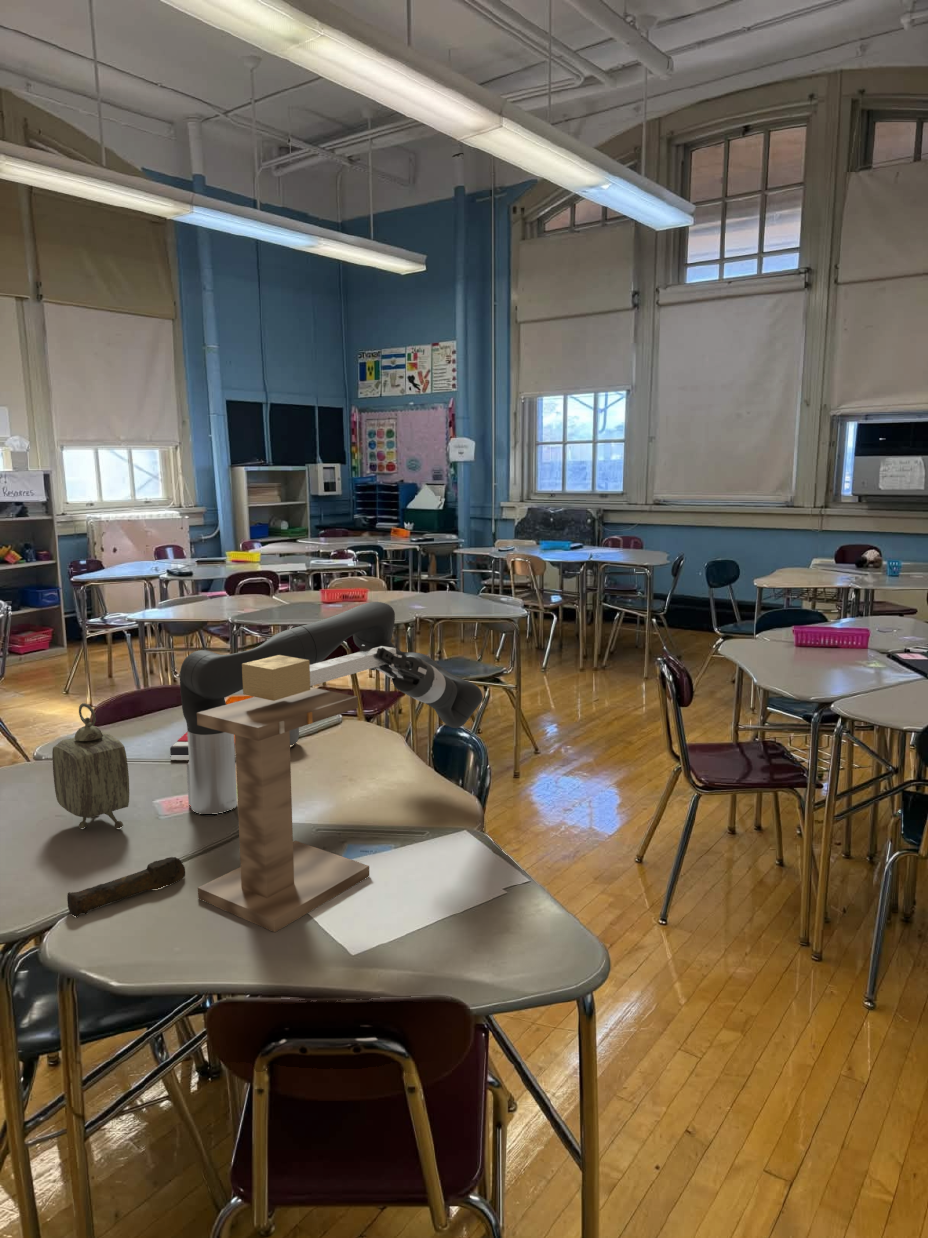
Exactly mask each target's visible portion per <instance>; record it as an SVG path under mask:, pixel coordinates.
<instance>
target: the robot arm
mask: <svg viewBox="0 0 928 1238" xmlns="http://www.w3.org/2000/svg"><path fill="white" fill-rule="evenodd" d="M395 621H396V613H395V609H394V608H393V607H392V606H391V605H390V604H388V603H386V602H381V601H380V602H379V601H371V602H366V603H362V604H359V605H357V606H354V607H352V608H350V609H347V610H346V611H342V612H340V613H338V614H336V615H333V616H330V617H327V618H324V619H320V620H318V621H314V622H310V623H308V624H304V625H299V626H296V627H293V628H290V629H289V628H288V629H286V630H283V631H280V632H277V633H276V634H273V635H272V636H271V637H269V638H268V639H267V640H265V641H264V642H262V643H261V644H260V645H259V646H257V647H254V648H250V649H248V650H244V651H239V652H235V653H228V654H219V653H217V652H213V651H209V650H205V649H202V650H200V649H199V650H195V651H193V652H191V653H189V654H188V655H187V656H186V658H184V660H183V662H182V664H181V667H180V671H179V688H180V699H181V710H182V714H183V717H184V721H185V722H186V730H187V731H186V732H187V733H188V751H189V761H188V763H186V780H187V796H188V797H187V798H188V799H187V801H188V805H189V804H190V805H191V807H190V809H191V811H192V810H194V811H195V812H198V813H201V814H212V813H219V812H224V811H227V810H230V809H232V808H234V809H236V807H238V794H237V771H236V748H235V735H234V734H230V733H226V732H222V731H218V730H214V729H210V728H207V727H203V726H199V725H197V713H198V712H201V711H205V710H209V709H212V708H216V707H220V706H223V705H227V703H226V700H225V698H227V697H229V696H231V695H234V694H236V693H238V692H240V691H243V678H242V664H243V663H247V662H252V661H256V660H260V659H264V658H268V657H273V656H277V655H282V656H288V657H294V658H300V659H306V660H309V662H310V665H311V664H315V663H319V662H323V661H325V660H326V659H327V657H329V655H331V654H332V653H333V652H334V651H335V650H337V648H338V647H340V645H342V644H343V643H344V642H345V641H347V639H349V638H351V637H352V638H353V642H354V645H356V647H358V648H359V651H358V652H361V651H365V650H369V649H372V648H376V647H379V648H378V650H377V654H376V658H377V659H378V660H380V661H382V662H383V663H385V665H381V666H378V667H375V668H371V669H370V670H371V671H376V670H377V671H379V672H382V674H383V673H384V674H385V676H387V677H388V678H391V682H392V685H393V686H394V688H396V690H398V691H399V692H401V693H402V694H405V695H407V696H408V697H410V698H412V699H414V700H416V701H418V702H422V703H424V704H425V705H427V706H429V707H431V708H432V709H433V710H434V711H435V712H436V714H437V716H438V717H439V719H440V720H441V721H442V722H443V723H444V724H445V725H446V726H448V727H449V728H452V729H453V728H454V729H458V728H461V727H462V726H464V725H465V724H466V723H467V722H468V721H469V719H470V718H471V717H472V715H473V714H474V713H475V711H476V709H478V707H479V706H481V705H480V704H481V703H482V701H483V698H484V697H483V692H482V690H481V688H480V687H479V686H478V685H476V684H475V683H473V682H472V681H469V680H466V679H464V678H462V677H461V678H460V677H458V676H456V675H454V674H452V673H450V672H448V671H447V670H446V669H444V668H443V667H442V666H441V665H440V664H439V663H437V662H436V661H435V660H434V659H433V658H431V657H430V656H428V655H426V654H424V653H420V652H413V651H402V650H400V649H398V648H397V646H396V645H395V644H394V643H393V642H392V638H393V632H394V628H395ZM380 646H384V647H391V648H396V653H395V654H394V653H391V652H389V651H388V650H386V649H384V648H382V647H380Z"/></svg>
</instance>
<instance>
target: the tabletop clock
mask: <svg viewBox="0 0 928 1238" xmlns="http://www.w3.org/2000/svg"><path fill="white" fill-rule="evenodd" d="M83 708H86V709H88V710H89V711H90V713H91V716H92V722H91V718H90V717H88V716H87V717H86V718H85V717H84V716H83V714H82V710H83ZM78 715H79V718H80V720H81V722H82V723H83V724H84V726H82V727H80V728H78V729H77V731H76V732H75V733H74V737H70V738H67V739H63V740H61V741H59V742H58V743H57V744H55V746H53V747H52V752H51V753H52V756H51V757H52V771H53V772H52V774H53V775H52V776H53V783H54V784H53V785H54V793H55V797H56V801H57V803H58V805H60V806H61V807H62V808H63V809H64V810H66V811H67V812H68V813H70V814H71V815H74V816H76V817H82V821H81V822H79V824H78V828H79V827H80V828H84V827H87V828H88V826H89V825H88V822H87V819H91V818H93V817H97V816H101V815H106V816H107V817H109V818H110V819H111V820H112V822H113V823H114V825H113V827H114V829H116V828H120V827H122V826H123V827H124V823H123V821H121V820H117V818H116V816H115V815H114V813H113V812H114V811H115V812H116V811H118V810H119V811H120V810H122V809H125V808H128V807H129V804H130V776H129V766H128V758H127V751H126V749H125V746H124V744H123V743H122V741H120V740H119V739H118V738H116V737H114V736H113V735H111V734H109V733H106V732H103V731H101V729H100V728H99V727H98V726H95V724H96V720H97V719H96V713H95V711H94V708H93V707H92V706H91V705H90V704H89V703H87V702H86V703H85V702H83V703H81V704H79V706H78ZM123 827H122V828H123ZM80 828H79V829H80Z"/></svg>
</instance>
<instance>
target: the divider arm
mask: <svg viewBox="0 0 928 1238" xmlns="http://www.w3.org/2000/svg"><path fill="white" fill-rule="evenodd" d="M380 647H382V648H384V649H386V650H388V651H389V652H391V653H394V654H395V653H396V648H397V647H396V648H391V647H384V646H380ZM378 648H379V647H376V648H372V649H369V650H365V651H361V652H359V651H357V652H354V653H350V654H346V655H343V656H339V657H335V658H330V659H327V660H322V661H321V662H319V663H315V664H311V665H310V662H309V660H306V659H300V658H294V657H288V656H282V655H277V656H273V657H268V658H264V659H260V660H256V661H252V662H247V663H243V664H242V678H243V689H242V693H243V695H245V696H250V697H258V698H263V699H267V700H272V701H275V700H278V699H282V698H285V697H289V696H292V695H295V694H299V693H302V692H305V691H309V690H310V687H312V686H313V687H314V686H316V685H320V684H323V683H326V682H330V681H333V680H336V679H337V680H338V679H341V678H344V677H347V676H350V675H354V674H357V673H360V672H364V671H368V670H371V668H375V667H378V666H381V665H385V663H383V662H382V661H380V660H378V659H377V658H376V654H377V650H378Z"/></svg>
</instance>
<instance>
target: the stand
mask: <svg viewBox="0 0 928 1238" xmlns="http://www.w3.org/2000/svg"><path fill="white" fill-rule="evenodd" d="M358 699H359V698H358V696H357V695H352V694H347V693H342V692H336V691H332V690H326V689H322V688H318V687H317V688H315V687H312V686H310V690H309V691H305V692H302V693H299V694H295V695H292V696H289V697H285V698H282V699H278V700H275V701H272V700H267V699H263V698H258V697H254V696H251V697H249V698H245V699H242V700H238V701H235V702H231V703H228V704H227V703H226V705H223V706H220V707H216V708H212V709H209V710H205V711H201V712H198V713H197V725H199V726H203V727H207V728H210V729H214V730H218V731H222V732H226V733H230V734H234V743H235V766H236V791H237V809H238V810H237V814H238V817H237V818H238V835H239V836H238V839H239V861H240V867H237V868H235V869H233V870H231V871H229V872H227V873H225V874H223V875H221V876H218V877H217V878H215V879H213V880H210V881H208V882H207V883H204V884H202V885H200V886H198V887H197V899H198V898H199V899H198V900H200V899H201V900H200V901H202V900H204V901H206V902H208V903H207V904H209V903H210V904H209V905H211V904H212V905H211V906H213V905H214V907H216V908H218V909H221V910H223V911H224V912H225V911H226V912H228V913H229V914H231V915H234V916H237V917H239V918H241V919H243V920H245V921H248V922H250V923H253V924H255V925H257V926H259V927H262V928H264V929H266V930H269V931H271V932H273V933H276V932H278V931H280V930H281V929H284V928H285V927H287V926H288V925H290V924H292V923H294V922H295V921H297V920H298V919H301V918H302V917H303V916H306V915H307V914H309V913H310V912H312V911H314V910H315V909H317V908H319V907H320V906H322V905H324V904H326V903H327V902H329V901H331V900H332V899H334V898H335V897H338V896H339V895H340V894H341V895H342V893H344V892H346V891H347V890H349V889H351V888H353V887H355V886H356V885H357V884H359V883H361V882H362V880H363V881H365V880H366V879H367V877H368V876H369V877H370V865H368V864H365V863H362V862H359V861H356V860H353V859H350V858H347V857H344V856H341V855H339V854H336V853H333V852H330V851H328V850H325V849H321V848H318V847H315V846H312V845H309V844H307V843H303V842H301V841H297V840H294V839H293V838H294V836H293V835H294V833H293V832H294V831H293V828H294V827H293V804H292V803H293V802H292V799H293V797H292V769H291V768H292V767H291V766H292V765H291V748H290V733H289V731H290V730H293V729H296V728H299V729H300V728H302V727H305V726H309V725H311V724H313V723H317V722H319V721H323V720H325V719H329V718H332V717H335V716H339V715H341V714H344V713H346V712H350V711H353V710H357V709H358V708H359V700H358ZM369 877H368V878H369ZM365 878H366V879H365ZM360 881H361V882H360ZM352 886H353V887H352ZM204 901H203V902H204ZM206 902H205V903H206Z"/></svg>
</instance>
